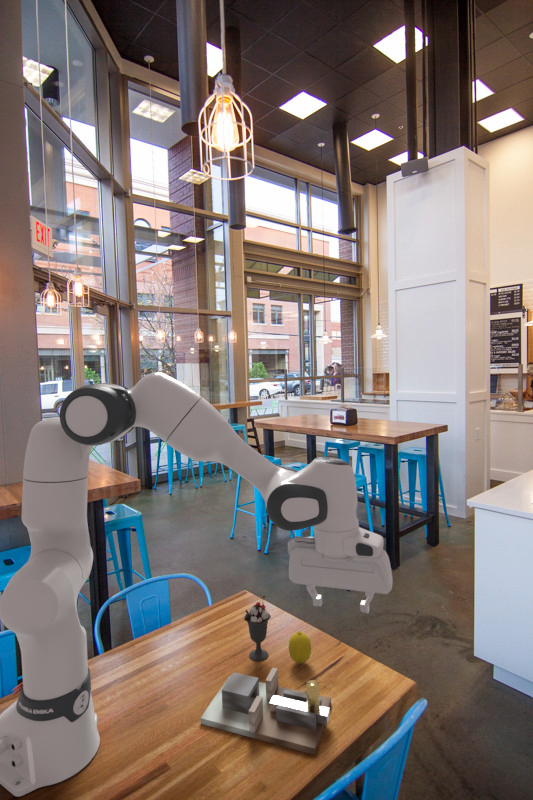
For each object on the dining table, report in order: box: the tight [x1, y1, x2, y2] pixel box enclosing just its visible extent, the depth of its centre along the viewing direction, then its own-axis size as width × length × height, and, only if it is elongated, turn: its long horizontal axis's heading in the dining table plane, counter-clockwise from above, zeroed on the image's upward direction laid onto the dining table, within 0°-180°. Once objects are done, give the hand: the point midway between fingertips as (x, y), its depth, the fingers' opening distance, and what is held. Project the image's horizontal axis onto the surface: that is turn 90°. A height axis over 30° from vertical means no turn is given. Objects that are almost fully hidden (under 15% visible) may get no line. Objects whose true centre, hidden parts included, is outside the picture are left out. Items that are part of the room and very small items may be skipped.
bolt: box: [270, 679, 331, 726], centre depth 89 cm, size 12×3×7 cm, turn 70°
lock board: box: [199, 667, 332, 756], centre depth 92 cm, size 24×14×5 cm, turn 70°
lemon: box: [288, 631, 312, 665], centre depth 108 cm, size 6×6×8 cm
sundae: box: [243, 595, 272, 662], centre depth 112 cm, size 7×7×15 cm
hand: (341, 608), depth 86 cm, fingers open, 8 cm apart
